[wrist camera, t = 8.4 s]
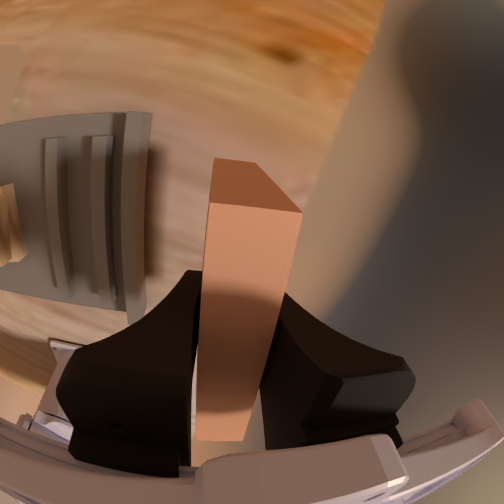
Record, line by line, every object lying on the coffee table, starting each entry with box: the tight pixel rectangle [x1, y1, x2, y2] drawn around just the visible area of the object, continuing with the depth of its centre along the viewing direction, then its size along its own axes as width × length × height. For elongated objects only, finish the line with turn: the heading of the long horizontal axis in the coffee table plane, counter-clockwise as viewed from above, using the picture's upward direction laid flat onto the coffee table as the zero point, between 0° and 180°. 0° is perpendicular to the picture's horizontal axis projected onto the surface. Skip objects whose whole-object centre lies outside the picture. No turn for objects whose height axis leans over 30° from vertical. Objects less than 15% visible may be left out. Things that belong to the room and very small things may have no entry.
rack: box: [0, 112, 152, 325], centre depth 16 cm, size 15×17×2 cm
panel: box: [196, 158, 303, 441], centre depth 12 cm, size 10×2×8 cm, turn 171°
